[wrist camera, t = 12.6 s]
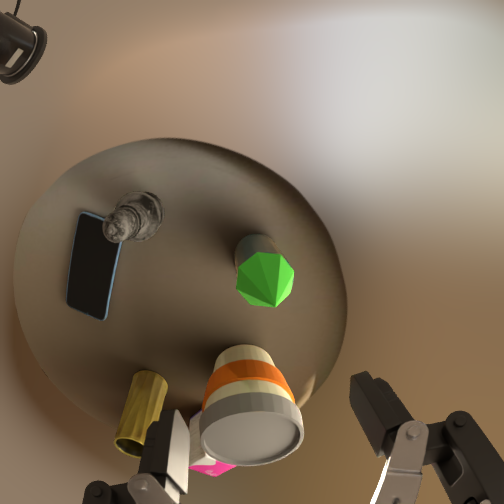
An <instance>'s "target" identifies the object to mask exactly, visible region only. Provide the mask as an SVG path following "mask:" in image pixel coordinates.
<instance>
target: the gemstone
mask: <svg viewBox="0 0 504 504" xmlns="http://www.w3.org/2000/svg"><path fill="white" fill-rule="evenodd" d="M293 276H294V271H293V269H292V268H291V267H290V265H289V264H288V263H287V262H286V260H285V259H284V258H283V256H282V255H281V254H272V253H261V252H257V253H256V254H254V255H253V256H252V257H250V258H249V259H248V260H247V261H245V262H244V263H243V264H241V265H240V266H239V267H238V276H237V285H236V289H237V290H238V291H239V293H240V294H241V295H242V296H243V297H244V298H245V299H246V300H247V301H248V303H249V304H250V305H258V306H267V307H276V306H277V305H278V304H279V303H280V302H281V301H283V300H284V299H285V298H286V297H287V296H288V295H289V294H290V292H291V287H292V282H293Z"/></svg>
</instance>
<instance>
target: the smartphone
mask: <svg viewBox="0 0 504 504" xmlns="http://www.w3.org/2000/svg"><path fill="white" fill-rule="evenodd" d="M104 220H105V218H102V217H100V216H97V215H94V214H92V213H89V212H82V213H80V215H79V217H78V221H77V226H76V231H75V236H74V241H73V247H72V253H71V260H70V267H69V273H68V282H67V292H66V303H67V305H68V306H69V307H71V308H73V309H75V310H77V311H79V312H82V313H84V314H86V315H88V316H90V317H93V318H95V319H97V320H100V321H103V320H105V319H106V317H107V313H108V307H109V302H110V296H111V291H112V285H113V280H114V276H115V271H116V266H117V262H118V257H119V253H120V249H121V245H122V242H119V243H114V242H111V241H109V240H108V239H107V238H106V237H105V235H104V233H103V222H104Z"/></svg>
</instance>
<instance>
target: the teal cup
mask: <svg viewBox="0 0 504 504" xmlns="http://www.w3.org/2000/svg"><path fill="white" fill-rule="evenodd" d="M257 252H261V253H272V254H281V255H282V256H283V258H284V259H285V260H286V258H285V257H284V255H283V254H282V253H281V251H280V250H279V248H278V247H277V245H276V244H275V243H274V241H273V240H272V239H270V238H269V237H267V236H265V235H262V234H251V235H248V236H246V237H244V238H243V239H242V240H241V241H240V242H239V243H238V245H237V247H236V249H235V255H234V258H235V268H236V277H237V276H238V267H239V266H240V265H241V264H243V263H244V262H245V261H247V260H248V259H249V258H250V257H252V256H253V255H254V254H256V253H257ZM286 262H287V263H288V261H287V260H286ZM288 264H289V263H288ZM289 265H290V264H289ZM290 267H291V266H290ZM293 281H294V277H293ZM292 284H293V282H292ZM291 288H292V287H291Z"/></svg>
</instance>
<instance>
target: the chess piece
mask: <svg viewBox="0 0 504 504" xmlns="http://www.w3.org/2000/svg"><path fill="white" fill-rule="evenodd" d="M163 219H164V207H163V204H162V202H161V200H160V199H159V198H158V197H157V196H156V195H154V194H152V193H148V192H131V193H128V194H126V195H124V196H123V197H122V198H121V199H120V200H119V201H118V203H117V205H116V207H115V210H114V212H113V213H111V214H109V215H108V216H107V217H106V218H105V220H104V222H103V233H104V235H105V237H106V238H107V239H108V240H109V241H111V242H114V243H119V242H122V241H123V240H130V241H134V242H142V241H145V240H148V239H149V238H151V237H152V236H153V235H154V234H155V233H156V232H157V230H158V228H159V227H160V225H161V224H162V222H163Z"/></svg>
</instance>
